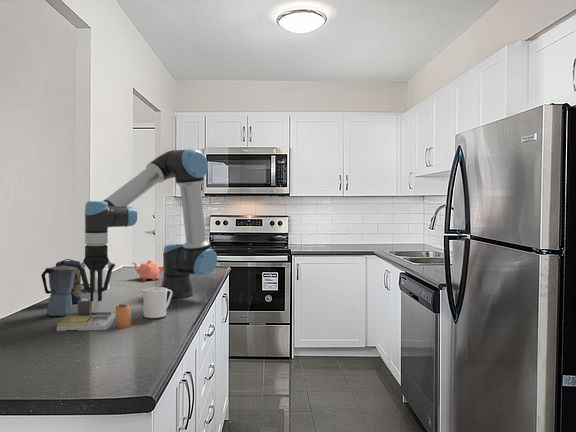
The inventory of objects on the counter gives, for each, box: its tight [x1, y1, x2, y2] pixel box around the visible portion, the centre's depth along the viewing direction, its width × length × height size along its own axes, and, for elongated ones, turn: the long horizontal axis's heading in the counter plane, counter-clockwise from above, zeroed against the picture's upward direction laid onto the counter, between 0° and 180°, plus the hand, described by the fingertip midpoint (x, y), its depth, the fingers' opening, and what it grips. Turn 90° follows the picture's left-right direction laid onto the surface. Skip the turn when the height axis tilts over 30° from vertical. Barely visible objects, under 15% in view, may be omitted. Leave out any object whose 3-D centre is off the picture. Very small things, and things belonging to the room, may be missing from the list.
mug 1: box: [95, 266, 110, 292], centre depth 237 cm, size 8×12×10 cm
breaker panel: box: [56, 311, 116, 332], centre depth 177 cm, size 16×17×3 cm
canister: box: [55, 258, 82, 304], centre depth 209 cm, size 10×10×18 cm
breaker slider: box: [77, 298, 93, 315], centre depth 181 cm, size 4×4×6 cm
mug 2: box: [142, 286, 172, 320], centre depth 189 cm, size 11×9×10 cm
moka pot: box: [41, 260, 76, 317], centre depth 189 cm, size 10×15×20 cm, turn 161°
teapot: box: [130, 260, 163, 282], centre depth 267 cm, size 14×12×10 cm
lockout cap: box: [115, 303, 132, 329], centre depth 175 cm, size 5×5×8 cm
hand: (96, 310), depth 182 cm, fingers closed
